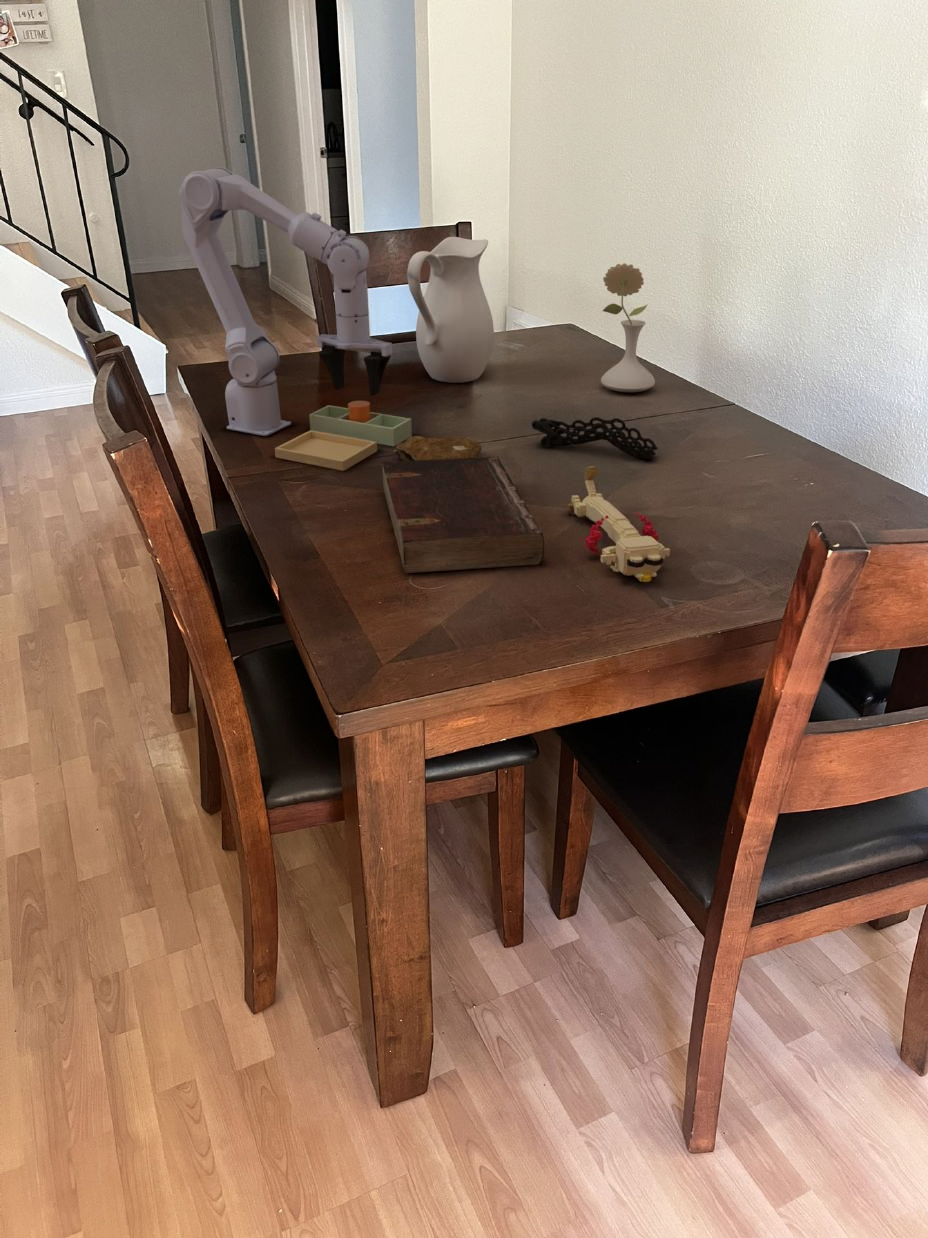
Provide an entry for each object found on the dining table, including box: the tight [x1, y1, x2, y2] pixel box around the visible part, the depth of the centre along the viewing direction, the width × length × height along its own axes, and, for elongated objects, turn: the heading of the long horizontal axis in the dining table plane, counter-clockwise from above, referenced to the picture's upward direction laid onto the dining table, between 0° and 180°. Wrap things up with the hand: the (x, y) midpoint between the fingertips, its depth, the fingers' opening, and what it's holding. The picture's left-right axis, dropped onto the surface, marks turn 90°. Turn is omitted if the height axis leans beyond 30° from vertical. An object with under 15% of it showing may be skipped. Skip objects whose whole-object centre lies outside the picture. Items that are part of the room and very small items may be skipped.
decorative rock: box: [393, 435, 483, 461], centre depth 153 cm, size 11×4×15 cm
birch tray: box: [274, 430, 378, 472], centre depth 157 cm, size 14×11×2 cm
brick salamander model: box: [566, 465, 671, 583], centre depth 123 cm, size 10×9×25 cm
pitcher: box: [406, 236, 495, 384], centre depth 190 cm, size 24×17×28 cm
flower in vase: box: [600, 262, 656, 393], centre depth 185 cm, size 13×11×25 cm
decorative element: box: [531, 416, 658, 461], centre depth 157 cm, size 22×5×6 cm, turn 66°
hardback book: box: [381, 456, 545, 574], centre depth 131 cm, size 29×19×5 cm, turn 10°
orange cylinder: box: [347, 400, 371, 423], centre depth 165 cm, size 4×4×5 cm
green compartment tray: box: [308, 404, 413, 447], centre depth 166 cm, size 18×6×3 cm, turn 63°
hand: (356, 391), depth 162 cm, fingers open, 7 cm apart
